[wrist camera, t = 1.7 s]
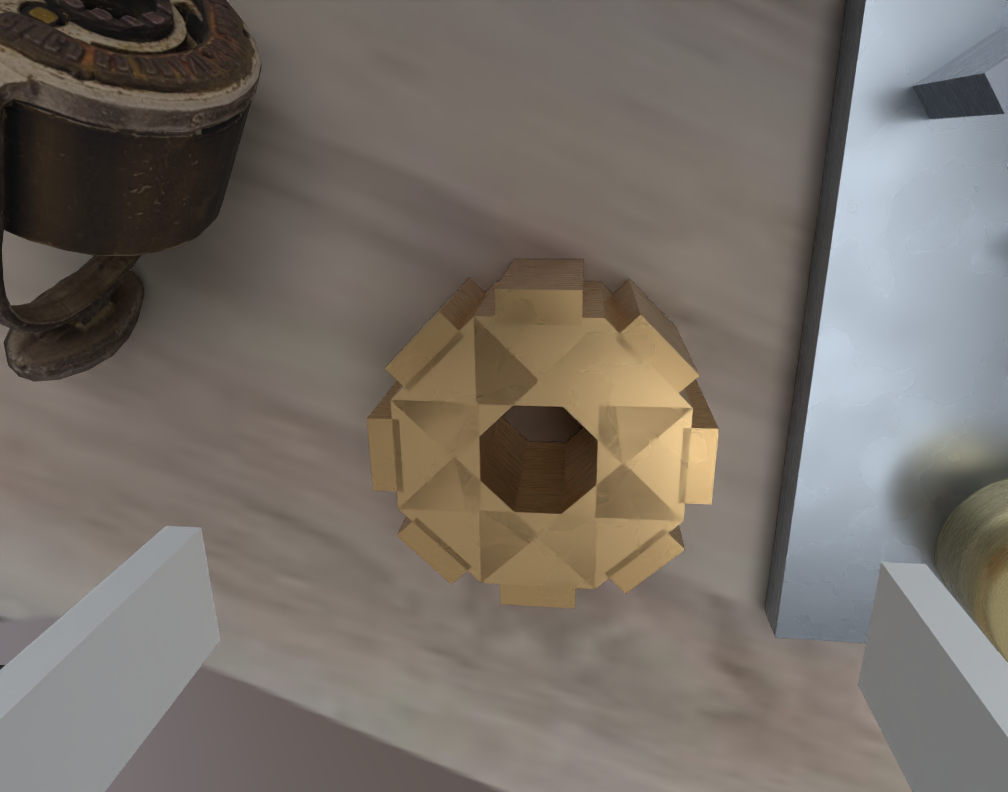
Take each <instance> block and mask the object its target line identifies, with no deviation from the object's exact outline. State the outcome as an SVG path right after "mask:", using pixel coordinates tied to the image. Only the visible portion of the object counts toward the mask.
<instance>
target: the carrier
mask: <svg viewBox="0 0 1008 792" xmlns="http://www.w3.org/2000/svg"><path fill="white" fill-rule="evenodd" d="M881 562H894V563H914V564H926V565H927V566H928V567H929V569H930V570H931V571H932V572H933V573H934V575H935V576H936V577H937V578H938V579H939V581H940V582H941V583H942V584H943V586H944V587H945V588H946V589H947V590H948V592H949V593H950V594H951V595H952V596H953V598H954V599H955V600H956V601H957V602H958V604H959V605H960V606H961V607H962V608H963V610H964V611H965V612H966V613H967V615H968V616H969V617H970V618H971V619H972V621H973V622H974V623H975V624H976V625H977V627H978V628H979V629H980V630H981V631H982V633H983V634H984V635H985V636H986V638H987V639H988V640H989V641H990V642H991V644H992V645H993V646H994V647H995V648H996V650H997V651H999V653H1000V654H1001V655H1002V656H1003V657H1004V659H1005V660H1006V661H1007V662H1008V0H847V3H846V10H845V18H844V25H843V32H842V40H841V47H840V55H839V62H838V70H837V77H836V85H835V92H834V100H833V107H832V114H831V122H830V129H829V137H828V144H827V152H826V159H825V167H824V174H823V182H822V189H821V197H820V204H819V211H818V219H817V226H816V234H815V241H814V249H813V256H812V264H811V271H810V279H809V286H808V293H807V301H806V308H805V316H804V323H803V331H802V338H801V346H800V353H799V361H798V368H797V376H796V383H795V390H794V398H793V405H792V413H791V420H790V428H789V435H788V443H787V450H786V458H785V465H784V472H783V480H782V487H781V495H780V502H779V510H778V517H777V525H776V532H775V540H774V547H773V555H772V562H771V569H770V577H769V584H768V592H767V599H766V607H765V612H766V614H767V617H768V620H769V622H770V625H771V628H772V630H773V633H774V635H775V638H791V639H807V640H824V641H840V642H857V643H866V641H867V636H868V630H869V625H870V619H871V614H872V609H873V603H874V598H875V593H876V587H877V582H878V577H879V571H880V566H881Z"/></svg>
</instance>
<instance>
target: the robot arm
mask: <svg viewBox="0 0 1008 792" xmlns="http://www.w3.org/2000/svg"><path fill="white" fill-rule="evenodd" d="M219 642H220V635H219V629H218V623H217V617H216V611H215V606H214V600H213V594H212V588H211V582H210V576H209V570H208V564H207V558H206V552H205V547H204V541H203V535H202V529H201V527H181V526H165V527H164V528H163V529H162V530H160V531H159V532H158V533H157V534H156V535H155V536H154V537H152V538H151V539H150V540H149V541H148V542H147V543H146V544H144V545H143V546H142V547H141V548H140V549H139V550H137V551H136V552H135V553H134V554H133V555H132V556H131V557H129V558H128V559H127V560H126V561H125V562H124V563H123V564H121V565H120V566H119V567H118V568H117V569H116V570H114V571H113V572H112V573H111V574H110V575H109V576H108V577H106V578H105V579H104V580H103V581H102V582H101V583H100V584H98V585H97V586H96V587H95V588H94V589H93V590H92V591H90V592H89V593H88V594H87V595H86V596H85V597H83V598H82V599H81V600H80V601H79V602H78V603H77V604H75V605H74V606H73V607H72V608H71V609H70V610H69V611H67V612H66V613H65V614H64V615H63V616H62V617H60V618H59V619H58V620H57V621H56V622H55V623H54V624H53V625H51V626H50V627H49V628H48V629H47V630H46V631H44V632H43V633H42V634H41V635H40V636H39V637H37V638H36V640H34V641H33V642H32V643H31V644H29V645H28V646H27V647H26V648H25V649H24V650H23V651H21V652H20V653H19V654H18V655H17V656H16V657H15V658H13V659H12V660H11V661H10V662H9V663H8V664H6V665H0V792H105V791H106V790H107V789H108V787H109V786H110V784H111V783H112V782H113V781H114V779H115V778H116V777H117V775H118V774H119V773H120V771H121V770H122V769H123V768H124V766H125V765H126V764H127V762H128V761H129V760H130V758H131V757H132V756H133V755H134V753H135V752H136V751H137V749H138V748H139V747H140V745H141V744H142V743H143V741H144V740H145V739H146V737H147V736H148V735H149V734H150V732H151V731H152V730H153V728H154V727H155V726H156V724H157V723H158V722H159V720H160V719H161V718H162V716H163V715H164V714H165V712H166V711H167V710H168V709H169V707H170V706H171V705H172V703H173V702H174V701H175V699H176V698H177V697H178V695H179V694H180V693H181V692H182V690H183V689H184V688H185V686H186V685H187V684H188V682H189V681H190V680H191V678H192V677H193V676H194V674H195V673H196V672H197V671H198V669H199V668H200V667H201V665H202V664H203V663H204V661H205V660H206V659H207V658H208V656H209V655H210V654H211V652H212V651H213V650H214V648H215V647H216V646H217V644H218V643H219ZM858 685H859V687H860V689H861V691H862V693H863V695H864V697H865V699H866V701H867V703H868V705H869V707H870V709H871V711H872V713H873V715H874V717H875V719H876V721H877V723H878V725H879V727H880V728H881V730H882V732H883V734H884V736H885V738H886V740H887V742H888V744H889V746H890V748H891V750H892V752H893V754H894V756H895V758H896V760H897V762H898V764H899V766H900V768H901V770H902V772H903V774H904V776H905V778H906V780H907V782H908V783H909V785H910V787H911V789H912V791H913V792H1008V663H1007V662H1006V661H1005V659H1004V658H1003V657H1002V656H1001V654H1000V653H999V652H998V651H997V650H996V648H995V647H994V646H993V645H992V644H991V642H990V641H989V640H988V639H987V638H986V636H985V635H984V634H983V633H982V631H981V630H980V629H979V628H978V627H977V625H976V624H975V623H974V622H973V621H972V619H971V618H970V617H969V616H968V615H967V613H966V612H965V611H964V610H963V608H962V607H961V606H960V605H959V604H958V602H957V601H956V600H955V599H954V598H953V596H952V595H951V594H950V593H949V592H948V590H947V589H946V588H945V587H944V586H943V584H942V583H941V582H940V581H939V579H938V578H937V577H936V576H935V575H934V573H933V572H932V571H931V570H930V569H929V567H928V566H927V565H926V564H914V563H894V562H881V566H880V571H879V577H878V582H877V587H876V593H875V598H874V603H873V609H872V614H871V619H870V625H869V630H868V636H867V641H866V646H865V652H864V657H863V662H862V668H861V673H860V678H859V684H858Z"/></svg>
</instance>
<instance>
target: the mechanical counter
mask: <svg viewBox="0 0 1008 792" xmlns="http://www.w3.org/2000/svg"><path fill="white" fill-rule="evenodd" d="M260 72H261V61H260V57H259V54H258V51H257V47H256V44H255V41H254V39H253V37H252V35H251V34H250V32H249V30H248V28H247V27H246V25H245V23H244V22H243V21H242V19H241V18H240V17H239V16H238V14H237V13H236V12H235V11H234V9H233V8H232V7H231V6H230V4H229V3H228V2H227V0H0V324H2V325H4V326H6V327H9V328H10V330H9V332H8V334H7V336H6V338H5V340H4V347H5V352H6V357H7V362H8V366H9V367H10V368H11V369H12V370H13V371H14V372H15V373H16V374H17V375H18V376H19V377H22V378H25V379H28V380H31V381H46V380H58V379H62V378H65V377H68V376H72V375H75V374H78V373H81V372H84V371H87V370H89V369H91V368H93V367H94V366H96V365H98V364H99V363H101V362H103V361H104V360H106V359H108V358H109V357H111V356H113V355H114V354H115V353H116V351H117V350H118V349H119V348H120V347H121V346H122V345H123V344H124V343H125V341H126V340H127V339H128V338H129V336H130V334H131V332H132V330H133V329H134V327H135V325H136V323H137V321H138V317H139V313H140V309H141V305H142V301H143V295H144V288H143V286H142V284H141V282H140V280H139V278H138V277H137V276H136V275H135V274H134V273H133V272H132V271H129V270H130V269H131V267H132V266H133V265H134V264H135V263H136V261H137V260H138V259H139V258H140V256H141V255H142V254H148V253H153V252H158V251H163V250H168V249H172V248H177V247H179V246H181V245H183V244H185V243H187V242H189V241H190V240H192V239H194V238H196V237H198V236H199V235H200V234H201V233H202V232H203V231H204V230H205V229H206V228H207V227H208V226H209V225H210V224H211V223H212V222H213V221H214V220H215V219H216V218H217V216H218V213H219V211H220V208H221V205H222V202H223V199H224V195H225V192H226V188H227V185H228V181H229V178H230V174H231V171H232V167H233V164H234V160H235V157H236V153H237V150H238V146H239V143H240V139H241V136H242V132H243V129H244V125H245V121H246V118H247V114H248V111H249V107H250V104H251V99H252V98H253V96H254V95H255V93H256V89H257V85H258V80H259V76H260ZM4 230H5V231H8V232H10V233H12V234H15V235H17V236H19V237H22V238H24V239H27V240H29V241H33V242H37V243H40V244H44V245H48V246H51V247H55V248H58V249H62V250H66V251H72V252H78V253H84V254H89V255H94V256H93V258H92V259H91V260H89V261H88V262H87V263H86V264H85V265H84V266H82V267H81V268H80V269H79V270H78V271H77V272H75V273H73V274H72V275H70V276H68V277H66V278H65V279H63V280H61V281H59V282H58V283H57V284H56V285H55V286H54V287H52V288H51V289H49V290H47V291H45V292H44V293H42V294H41V295H40V296H38V297H37V298H36V299H35V300H33V301H32V302H31V303H28V304H23V305H10V303H9V301H8V299H7V297H6V293H5V287H4V281H3V264H2V242H3V232H4Z"/></svg>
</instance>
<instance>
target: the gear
mask: <svg viewBox="0 0 1008 792" xmlns="http://www.w3.org/2000/svg"><path fill="white" fill-rule="evenodd" d="M583 268H584V259H514V260H513V262H512V263H511V265H510V266H509V268H508V270H507V271H506V273H505V274H504V276H503V277H502V279H501V281H497V282H496V283H495V284H494V285H493V286H492V287H491V288H490V289H489V290H488V291H487V292H486V293H485V292H484V291H483V290H482V289H481V288H480V287H479V286H478V285H477V284H476V283H475V282H474V281H473V280H472V279H471V278H469V279H468V280H467V281H466V282H465V283H464V284H463V285H462V286H461V287H460V288H459V289H458V290H457V291H456V292H455V293H454V294H453V295H452V297H451V298H450V299H449V300H448V301H447V302H446V303H445V304H444V305H443V306H442V307H441V308H440V309H439V310H438V311H437V312H436V313H435V314H434V315H433V316H432V317H431V318H430V319H429V320H428V321H427V322H426V323H425V324H424V326H423V327H422V328H421V329H420V330H419V331H418V332H417V333H416V334H415V336H414V337H413V338H412V339H411V340H410V341H409V342H408V343H407V344H406V345H405V347H404V348H403V349H402V350H401V351H400V352H399V353H398V354H397V355H396V356H395V358H394V359H393V360H392V361H391V362H390V363H389V364H388V365H387V366H386V368H385V370H386V371H388V372H389V373H390V374H391V375H392V376H393V377H394V378H395V379H396V380H397V382H396V383H395V384H394V385H393V387H392V388H391V389H390V390H389V392H388V393H387V394H386V395H385V397H384V398H383V399H382V400H381V402H380V403H379V404H378V405H377V407H376V408H375V409H374V410H373V412H372V413H371V414H370V415H369V417H368V418H367V426H368V438H369V449H370V461H371V473H372V485H373V490H375V491H397V499H398V509H399V510H400V511H401V512H402V513H403V514H405V515H406V518H405V520H404V522H403V524H402V526H401V528H400V530H399V532H398V534H397V536H398V537H399V538H400V539H401V540H402V541H403V542H404V543H405V544H407V545H408V546H409V547H410V548H411V549H412V550H413V551H415V552H416V553H417V554H418V555H419V556H420V557H421V558H422V559H424V560H425V561H426V562H427V563H428V564H429V565H430V566H431V567H433V568H434V569H435V570H436V571H437V572H438V573H439V574H441V575H442V576H443V577H444V578H445V579H446V580H447V581H448V582H450V583H451V584H452V583H454V582H455V581H456V580H457V579H458V578H460V577H461V576H462V575H463V574H464V573H465V572H467V571H468V572H469V573H471V574H472V575H473V576H474V577H475V578H476V579H477V580H478V581H480V582H481V583H491V584H500V604H508V605H525V606H542V607H559V608H575V588H583V589H596V588H597V587H598V586H600V585H601V584H602V583H603V582H605V581H606V580H607V579H610V580H611V581H612V582H614V583H615V584H616V585H617V586H618V587H619V588H620V589H621V590H622V591H623V592H624V593H625V594H626V593H627V592H629V591H630V590H632V589H633V588H634V587H636V586H637V585H638V584H640V583H641V582H642V581H644V580H645V579H646V578H648V577H649V576H650V575H652V574H653V573H654V572H656V571H657V570H658V569H660V568H661V567H662V566H664V565H665V564H666V563H668V562H669V561H670V560H672V559H673V558H674V557H676V556H677V555H678V554H680V553H681V552H682V551H684V550H685V548H684V544H683V540H682V536H681V532H680V527H679V524H681V523H682V522H683V521H684V510H685V503H693V504H712V494H713V484H714V473H715V463H716V453H717V443H718V432H719V428H718V426H717V424H716V422H715V420H714V417H713V415H712V413H711V411H710V409H709V407H708V405H707V402H706V400H705V398H704V396H703V394H702V392H701V390H700V387H699V385H698V383H697V381H696V378H697V377H698V376H700V375H699V373H698V371H697V369H696V367H695V365H694V363H693V361H692V359H691V357H690V355H689V353H688V350H687V348H686V346H685V344H684V342H683V340H682V338H681V336H680V334H679V332H678V330H677V328H676V327H675V326H674V325H673V324H672V323H671V322H670V320H669V319H668V318H667V317H666V316H665V315H664V314H663V313H662V312H661V311H660V310H659V309H658V308H657V307H656V306H655V305H654V304H653V303H652V302H651V301H650V300H649V299H648V298H647V297H646V296H645V294H644V293H643V292H642V291H641V290H640V289H639V288H638V287H637V286H636V285H635V284H634V283H633V282H632V281H631V280H630V279H628V280H627V281H626V282H625V283H624V284H623V285H622V286H621V287H620V288H619V289H618V290H617V291H616V292H615V293H613V294H612V293H611V292H610V291H609V290H608V289H607V288H606V286H605V285H604V284H603V283H602V282H583ZM513 405H519V406H556V407H564V408H565V409H566V410H567V411H568V412H569V413H570V414H571V415H572V416H573V417H574V418H575V419H576V420H577V421H578V422H579V423H580V424H582V425H583V426H584V428H583V429H582V430H581V431H579V432H578V433H577V434H576V435H575V436H574V437H573V438H571V439H570V440H569V441H568V442H567V443H556V442H528V441H527V440H526V439H525V438H524V437H523V436H522V435H521V434H520V433H519V432H518V431H516V430H515V429H514V428H513V427H512V426H511V425H510V424H509V423H508V422H507V421H506V420H505V419H504V418H503V417H502V415H503V414H504V413H505V412H507V411H508V410H509V409H510V408H511V407H512V406H513Z"/></svg>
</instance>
